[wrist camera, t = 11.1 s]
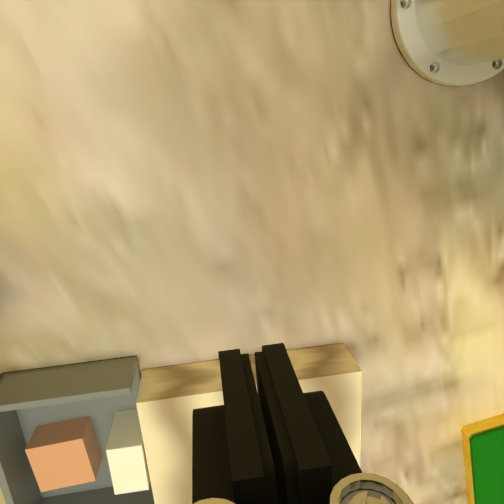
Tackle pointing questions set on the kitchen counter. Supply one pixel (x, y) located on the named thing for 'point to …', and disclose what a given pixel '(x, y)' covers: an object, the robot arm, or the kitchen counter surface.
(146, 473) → the cream square block
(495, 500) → the dish sponge
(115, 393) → the tray
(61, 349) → the kitchen counter surface
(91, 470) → the orange square block
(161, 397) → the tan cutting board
